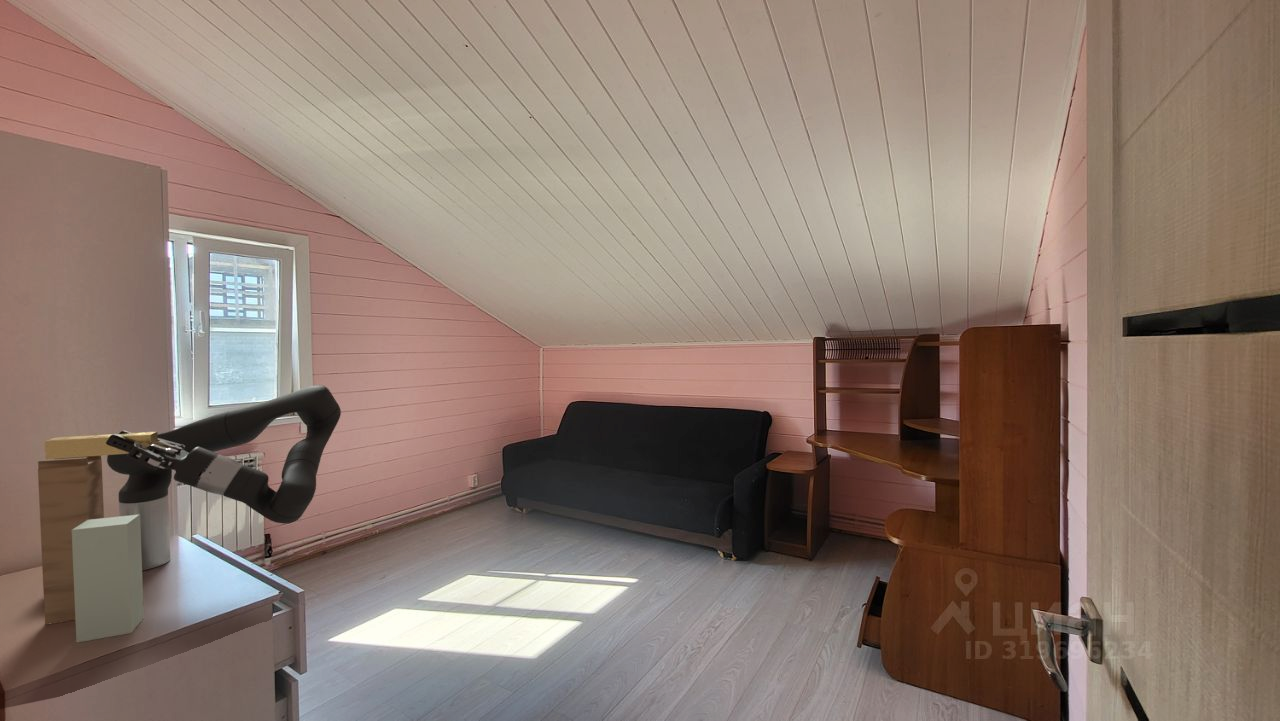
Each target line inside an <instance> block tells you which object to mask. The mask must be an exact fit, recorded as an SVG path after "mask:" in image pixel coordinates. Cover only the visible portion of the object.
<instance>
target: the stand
mask: <svg viewBox="0 0 1280 721" xmlns="http://www.w3.org/2000/svg"><path fill="white" fill-rule="evenodd" d="M102 460H103V459H102V455H101V456H87V457H73V458H59V459H42V460H38V461H37V465H38V467H37V468H38V469H37V479H38V482H37V483H38V501H39V503H38V504H39V523H40V545H41V564H42V565H41V567H42V568H41V570H42V586H43V587H42V590H43V591H42V592H43V609H44V611H43V612H44V613H43V614H44V625H45V624H47V625H50V624H49V623H53V624H56V623H55V622H59V623H62V622H61V621H65V622H70V621H69V620H71V621H76V620H75V596H74V573H73V550H72V529H74V528H75V527H77V526H79V525H80V524H82V523H83V522H85V521H87V520H91V519H101V518H105V513H104V508H105V507H104V489H103V487H104V486H103V485H104V484H103V483H104V482H103V464H102V463H103V462H102Z"/></svg>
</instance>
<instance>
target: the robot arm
mask: <svg viewBox="0 0 1280 721" xmlns="http://www.w3.org/2000/svg"><path fill="white" fill-rule="evenodd" d="M341 410H342V409H341V407H340V405H339V403H338V402H337V400H336V399H335V397H334V395H333V394H332V392H331V391H330V389H329V388H328V387H326V386H325V385H321V384H319V385H310V386H308V387H303V388H301V389H297V390H295V391H291V392H289V393H286V394H284V395H280V396H278V397H276V398H272V399H270V400H266V401H264V402H263V401H262V402H260V403H256V404H253V405H249V406H245V407H241V408H237V409H232V410H229V411H225V412H221V413H217V414H214V415H210V416H208V417H205V418H202V419H199V420H196V421H193V422H191V423H188V424H186V425H183V426H180V427H178V428H176V429H172V430H169V431H166V432H162V433H158V441H157V445H155V444H151V445H146V444H143V443H140V442H135V441H133V440H130V439H128V438H125V437H122V436H120V435H117V434H125V433H131V432H130V431H127V430H121V431H119V433H112V434H113V435H111V436H110V437H109V439H108V440H107V441H106V444H107V445H109V446H112V447H115V448H117V449H120V450H123V451H126V452H127V454H115V455H106V456H107V457H106V463H107V465H108V467H109V468H110V469H111V470H112V471H114V472H116V473H118V474H122V475H126V476H128V478H127V481H126V482H125V484H124V485H123V486H122V487H121V488H120V489H119V491H118V513H119V515H118V517H120V516H129V515H139V514H140V528H141V555H142V571H145V570H150V569H153V568H157V567H160V566H162V565H165V564H166V563H168V562H169V561H171V538H170V537H171V536H170V535H171V534H170V511H169V509H170V508H169V488H170V485H171V483H172V478H173V480H174V481H176V482H178V483H181V484H184V485H187V486H190V487H193V488H196V489H198V490H202V491H205V492H208V493H211V494H214V495H220V496H223V497H226V498H228V499H230V500H231V499H232V500H234V501H237V502H240V503H243V504H245V505H246V506H247V507H249V508H250V509H251V510H253V511H255V512H256V513H258V514H260V515H261V516H263V517H264V519H268V520H269V521H271V522H274V523H278V524H292V523H294V522H296V521H298V520H299V519H300V518H302V516H303V515H304V513H305V511H306V510H307V508H308V507H309V505H310V504H311V502H312V501H313V498H314V496H315V494H316V491H317V490H316V489H317V475H318V470H319V466H320V464H321V463H320V462H321V459H322V455H323V452H324V450H325V448H326V445H327V444H328V442H329V440H330V438H331V436H332V434H333V432H334V430H335V429H336V427H337V425H338V422H339V420H340V418H341V414H342V411H341ZM293 413H296V414H297V415H298V417H299V418H300V420H301V421H302V422H303V424H304V425H305V426H306V435H305V438H303V439H301V440H300V441H298V442H296V443H294V445H292V447H291V449H290V450H289V451H288V453H287V455H286V458H285V461H284V464H283V467H282V471H281V480H282V481H281V482H280V484H279V487H278V489H277V491H275V490H274V489H273V488H272V487H270V486H269V481H270V480H269V475H268V474H267V473H266V472H264V471H261V470H259V469H255V468H253V467H250V466H248V465H245V464H242V463H241V462H239V461H237V460H235V459H233V458H230V457H229V456H228V457H227V456H226V455H222V454H220V453H217V452H220V451H223V450H228V449H231V448H234V447H235V448H236V447H239V446H242V445H245V444H248V443H250V442H252V441H253V440H255V439H256V438H258V437H259V435H260V434H262V433H263V431H265V429H266V428H267V427H268V426H269V425H270V424H271V423H272V422H273V421H274V420H277V419H278V418H281V417H284V416H286V415H289V414H293ZM153 449H155V450H154V451H152V450H153ZM139 451H140V452H142V453H138V452H139ZM151 451H152V452H151ZM173 470H174V471H175V473H174V474H173ZM172 474H173V475H172ZM172 476H173V477H172Z"/></svg>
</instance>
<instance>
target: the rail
mask: <svg viewBox="0 0 1280 721" xmlns="http://www.w3.org/2000/svg"><path fill="white" fill-rule="evenodd" d="M113 434H114V433H112V434H111V433H110V434H94V435H93V434H92V435H77V436H62V437H59V436H58V437H53V438H49V439H47V440H44V452H45V460H54V459H59V458H73V457H87V456H101V457H102V456H108V455H115V454H127V452H126V451H123V450H120V449H117V448H115V447H112V446H109V445H107V444H106V441H107V440H108V439H109V437H110V436H111V435H113ZM116 434H117V435H120V436H122V437H125V438H128V439H130V440H133V441H135V442H140V443H143V444H146V445H151V444H155V445H157V441H158V434H159V433H158V431H143V432H130V433H125V434H119V433H116ZM154 450H155V449H153V450H152V451H154ZM152 451H151V452H152ZM138 453H142V452H140V451H139V452H138Z"/></svg>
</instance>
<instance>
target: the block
mask: <svg viewBox="0 0 1280 721" xmlns="http://www.w3.org/2000/svg"><path fill="white" fill-rule="evenodd" d="M72 550H73V573H74V596H75V619H76V620H75V636H76V637H75V638H76V640H75V641H76V644H77V643H82V642H89V641H93V640H94V641H95V640H100V639H107V638H111V637H116V636H117V637H118V636H122V635H128V634H132V633H133V632H134V631H135V629H136V628H138V626H139V625H140V624H141V623H142V621H143V620H144V619H145V611H144V589H143V588H144V587H143V586H144V585H143V584H144V583H143V570H142V555H141V528H140V514H139V515H129V516H120V517H119V516H110V517H104V518H101V519H91V520H87V521H85V522H83V523H82V524H80V525H79V526H77V527H75V528H74V529H72ZM143 618H144V619H143ZM142 619H143V620H142Z"/></svg>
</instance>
